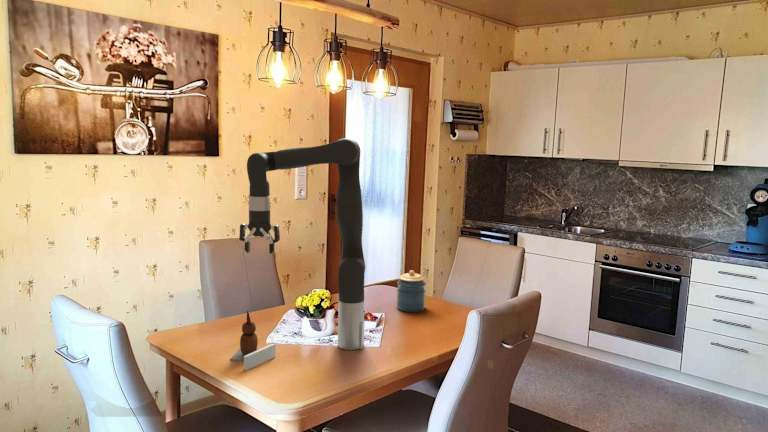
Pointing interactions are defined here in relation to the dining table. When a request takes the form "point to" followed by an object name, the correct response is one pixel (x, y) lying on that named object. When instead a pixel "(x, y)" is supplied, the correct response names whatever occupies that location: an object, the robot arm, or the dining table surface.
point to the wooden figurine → (248, 337)
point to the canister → (411, 292)
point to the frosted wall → (259, 356)
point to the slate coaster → (238, 356)
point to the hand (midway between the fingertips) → (259, 252)
